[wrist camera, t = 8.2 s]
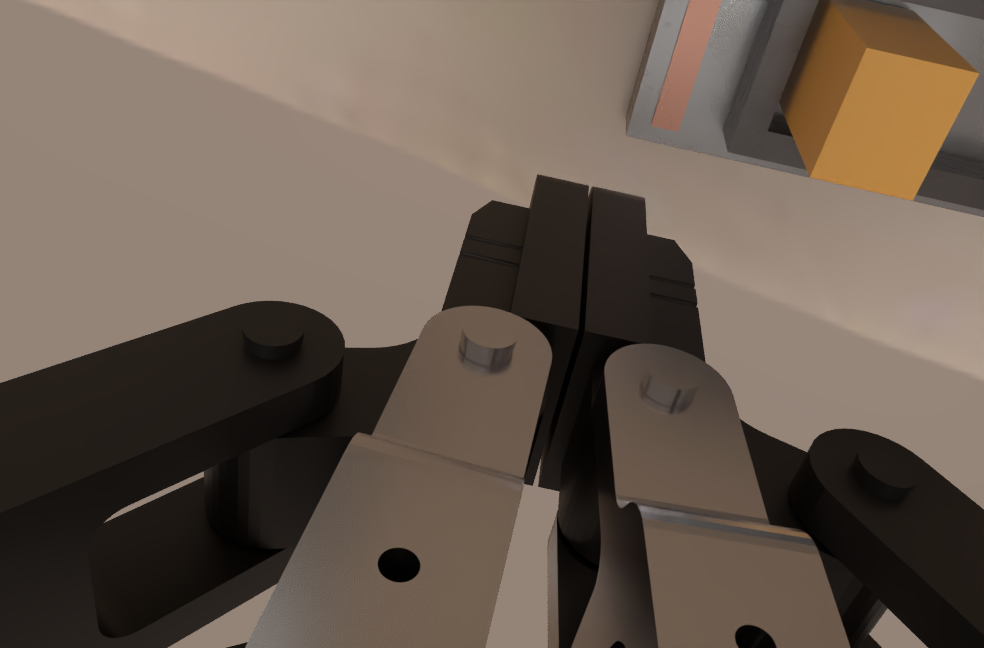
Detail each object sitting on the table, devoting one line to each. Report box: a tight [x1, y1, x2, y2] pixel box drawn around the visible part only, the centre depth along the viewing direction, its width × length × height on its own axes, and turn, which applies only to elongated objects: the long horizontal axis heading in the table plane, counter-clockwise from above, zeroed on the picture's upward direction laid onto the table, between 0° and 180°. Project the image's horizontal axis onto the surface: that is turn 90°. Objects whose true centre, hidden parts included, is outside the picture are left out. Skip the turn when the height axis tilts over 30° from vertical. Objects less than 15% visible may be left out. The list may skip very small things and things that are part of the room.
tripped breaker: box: [779, 0, 980, 201], centre depth 21 cm, size 2×3×5 cm
